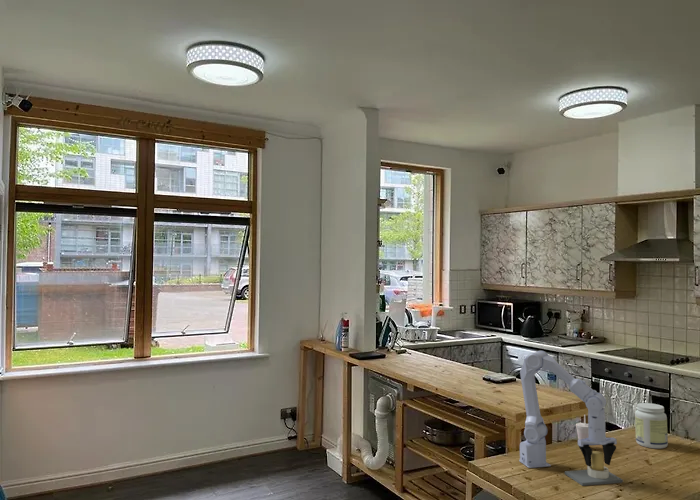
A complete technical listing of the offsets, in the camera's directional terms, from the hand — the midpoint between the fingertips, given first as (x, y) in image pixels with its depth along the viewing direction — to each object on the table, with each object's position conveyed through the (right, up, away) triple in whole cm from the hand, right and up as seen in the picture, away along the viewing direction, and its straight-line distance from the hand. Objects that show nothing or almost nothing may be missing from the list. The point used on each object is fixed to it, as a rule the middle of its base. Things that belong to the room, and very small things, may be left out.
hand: (597, 464), depth 191 cm
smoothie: (+10, -6, +33) cm, 35 cm away
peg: (0, -4, 0) cm, 4 cm away
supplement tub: (+41, -6, +36) cm, 55 cm away
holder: (-2, -5, -1) cm, 5 cm away
